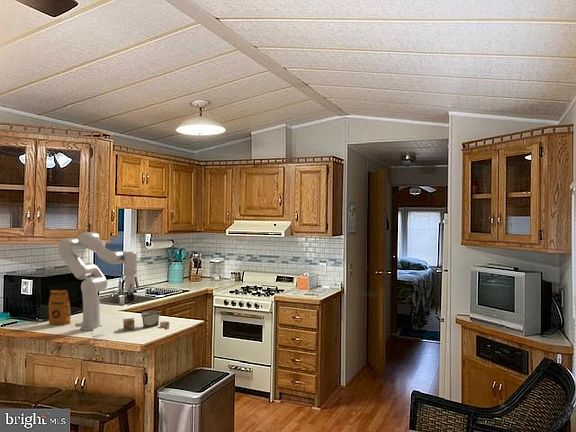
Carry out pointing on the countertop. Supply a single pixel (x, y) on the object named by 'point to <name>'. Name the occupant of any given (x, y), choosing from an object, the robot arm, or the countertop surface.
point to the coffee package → (59, 307)
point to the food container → (150, 318)
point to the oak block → (164, 324)
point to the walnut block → (128, 324)
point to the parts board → (130, 330)
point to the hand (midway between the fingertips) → (130, 300)
